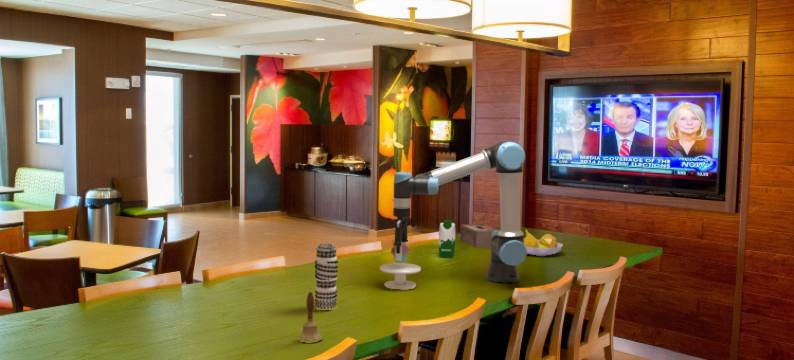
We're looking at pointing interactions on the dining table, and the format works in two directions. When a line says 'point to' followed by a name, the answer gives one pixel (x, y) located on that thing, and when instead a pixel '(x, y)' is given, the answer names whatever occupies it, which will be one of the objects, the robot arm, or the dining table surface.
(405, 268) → the cake stand
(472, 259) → the dining table surface
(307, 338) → the hand bell
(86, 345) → the dining table surface
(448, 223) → the milk carton
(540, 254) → the fruit bowl
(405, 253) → the cupcake
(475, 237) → the tissue box cover
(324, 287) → the decorative candle
